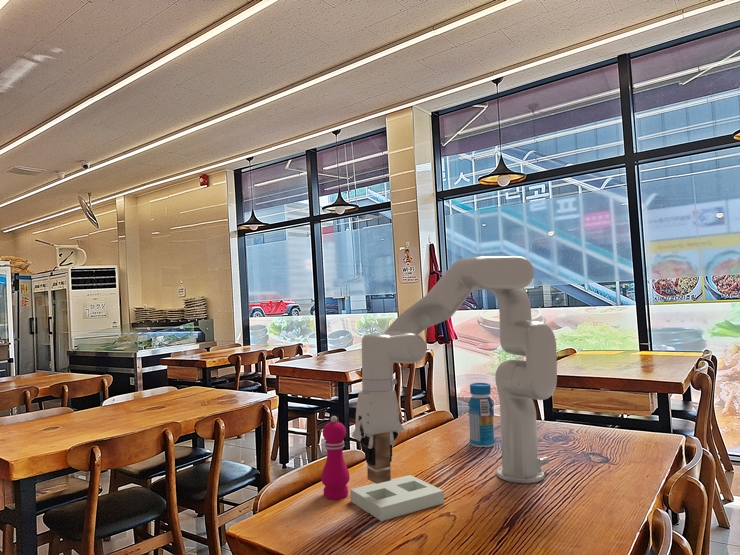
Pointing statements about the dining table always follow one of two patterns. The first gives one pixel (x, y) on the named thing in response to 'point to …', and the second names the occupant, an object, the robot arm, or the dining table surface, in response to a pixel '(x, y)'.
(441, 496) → the board
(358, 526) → the dining table surface
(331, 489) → the pepper mill
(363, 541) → the dining table surface
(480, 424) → the beverage bottle
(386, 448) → the peg
